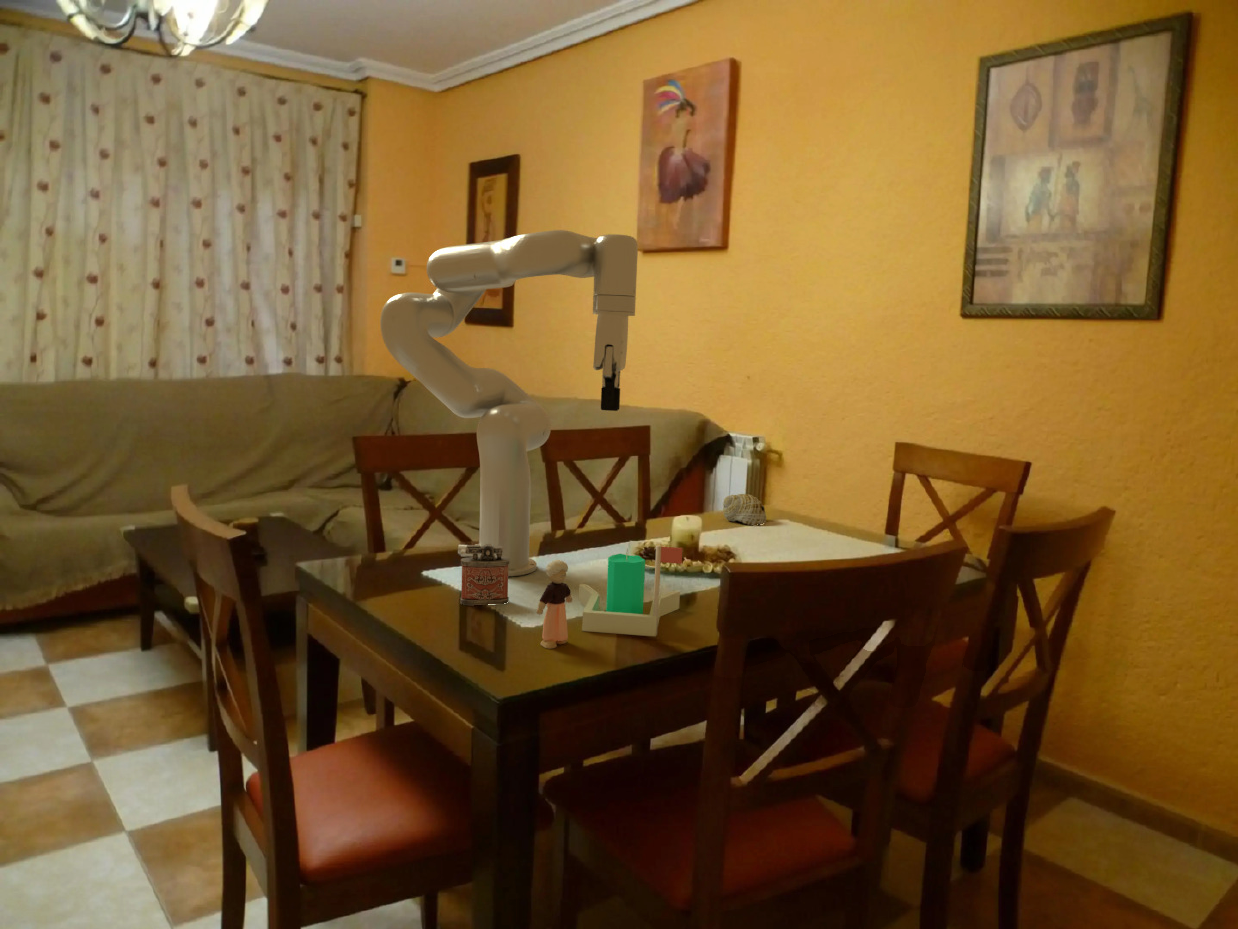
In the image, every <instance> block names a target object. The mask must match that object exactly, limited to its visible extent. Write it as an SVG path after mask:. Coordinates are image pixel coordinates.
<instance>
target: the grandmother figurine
mask: <svg viewBox="0 0 1238 929" xmlns="http://www.w3.org/2000/svg"><path fill="white" fill-rule="evenodd" d="M568 570H569V565H568V564H567V563H566V562H565V561H564V560H560V559H557V558H556V559H555V560H552V561H551V562H549V563H548V564H547V565H546V567H545V572H546V575H547V577H548V578H549V580H550V583H549V584H547V586H546V588H545V590H544V592H543V593H542V595H541V597H540V599H539V603H538V605H537V609H536V610H535V612H536V614H537V615H540V616H541V615H543V613H544V610H545V608H546V607H547V609H546V612H545V614H544V618H543V625H542V626H543V627H542V636H541V638H542V639H543V640H541V642H540V644H539V645H540V646H542V647H543V648H545V649H550V650H551V649H555V648H557V647H558V645H563V644H567V643H568V639H569V635H568V634H569V632H568V621H567V620H568V619H567V611H566V603H568V604H570V603H572V602H573V597H572V593H571V592H572V590H571V589H570V587H569V585H568V583H565V581H566V579H567V572H568Z"/></svg>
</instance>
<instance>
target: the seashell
mask: <svg viewBox="0 0 1238 929" xmlns="http://www.w3.org/2000/svg"><path fill="white" fill-rule="evenodd" d="M722 506H723V509H722V513H723V516H724V518H725V519H726V520H727V521H730V522H733V523H734V522H735V523H736V522H739V523H740V522H741V523H743V524H746V525H748V526H752V525H757V524H763V523H765V524H766V522H767V513H766V510H765V506H764V503H762V502H761V501H760V500H759V499H758V498H757V497H756V496H755V495H752V494H749V493H748V494H747V493H740V494H731V495H727V496H726V497H725V498H724V499H723V503H722ZM757 526H758V525H757Z"/></svg>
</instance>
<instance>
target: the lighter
mask: <svg viewBox="0 0 1238 929" xmlns="http://www.w3.org/2000/svg"><path fill="white" fill-rule="evenodd" d="M466 545H467V546H466V549H465V553H466V554H473V557H464V558H461V559H460V565H461V596H460V602H459V604H461V605H462V604H463V605H462V606H474V605H488V604H504V603H507V602H508V601H510V600H509V596H508V594H509V591H508V590H509V589H508V588H509V576H508V565H509V562H510V559H508V558H501V556H502V552H503V547H502V546H491V544H485V545H484V546H480V545H475V544H474V545H473V544H466ZM478 554H481V556H480V557H478ZM494 554H496V555H497V557H495V555H494ZM508 603H509V602H508Z"/></svg>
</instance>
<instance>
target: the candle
mask: <svg viewBox="0 0 1238 929" xmlns="http://www.w3.org/2000/svg"><path fill="white" fill-rule="evenodd" d="M626 551H628V548H626ZM645 574H646V559H644V558H642V557H641V556H640V555H628V552H626V554H624V553H616V554H612V555H610V556H608V557H607V576H606V578H607V579H606V580H607V581H606V583H607V584H606V603H605V608H606V609H605V611H606V612H619V613H633V614H644V601H645V596H644V595H645V576H646V575H645Z"/></svg>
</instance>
